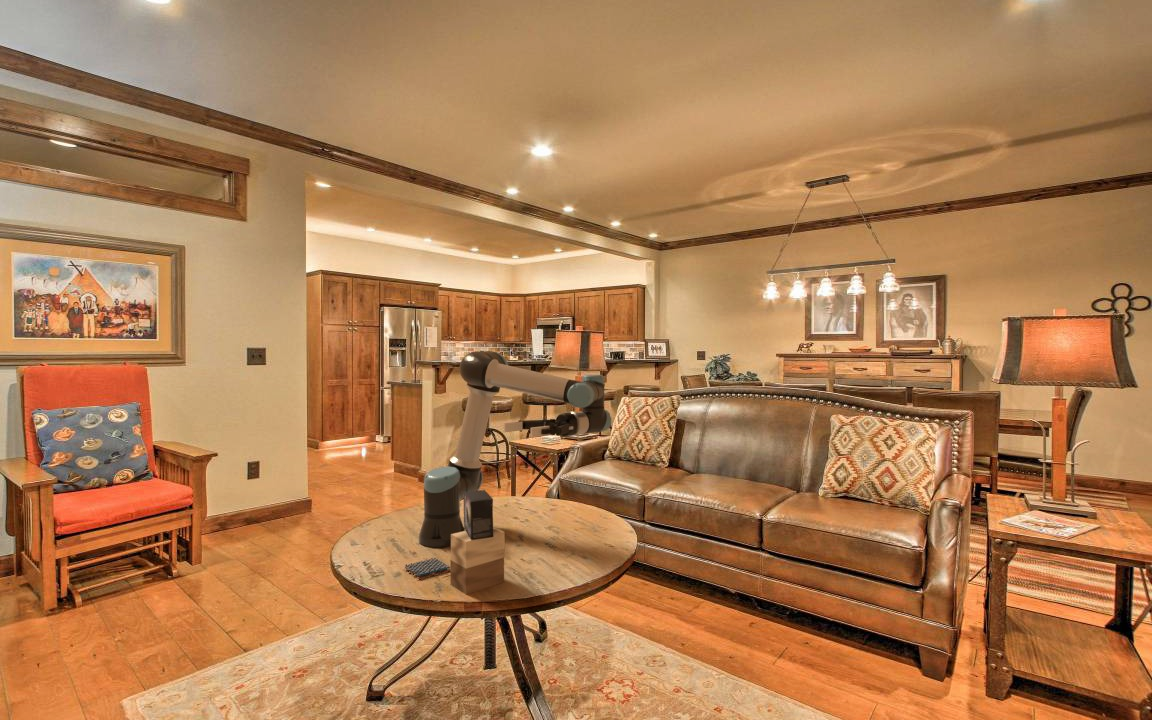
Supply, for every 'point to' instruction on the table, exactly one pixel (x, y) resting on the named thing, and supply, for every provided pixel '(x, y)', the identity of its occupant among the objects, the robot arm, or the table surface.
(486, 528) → the small box
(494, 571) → the tower base
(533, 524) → the table surface
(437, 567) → the woven mat
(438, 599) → the table surface
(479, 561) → the tower top
